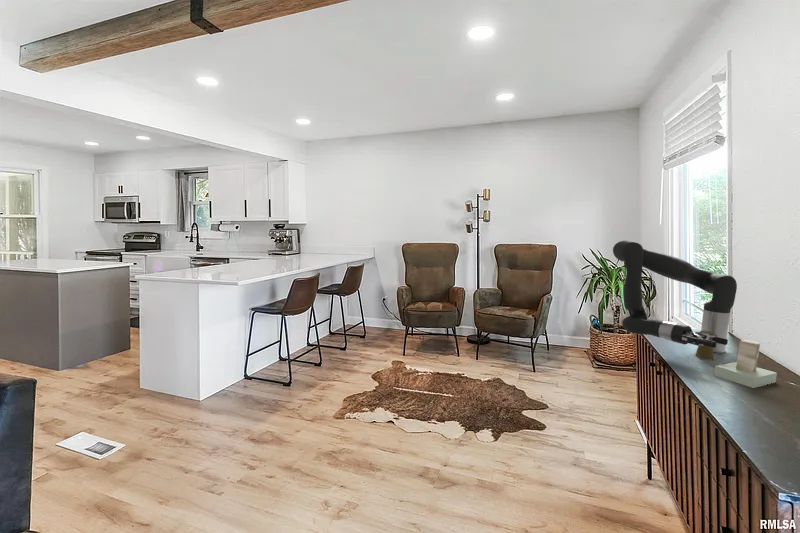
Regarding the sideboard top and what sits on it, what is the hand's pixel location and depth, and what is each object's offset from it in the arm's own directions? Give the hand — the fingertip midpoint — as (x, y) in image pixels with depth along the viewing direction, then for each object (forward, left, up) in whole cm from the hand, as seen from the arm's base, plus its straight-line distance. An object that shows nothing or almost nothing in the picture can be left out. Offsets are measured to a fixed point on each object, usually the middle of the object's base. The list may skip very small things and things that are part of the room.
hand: (721, 343), depth 154 cm
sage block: (0, +8, -11) cm, 14 cm away
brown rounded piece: (-14, -11, -11) cm, 21 cm away
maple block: (0, +8, -7) cm, 11 cm away
